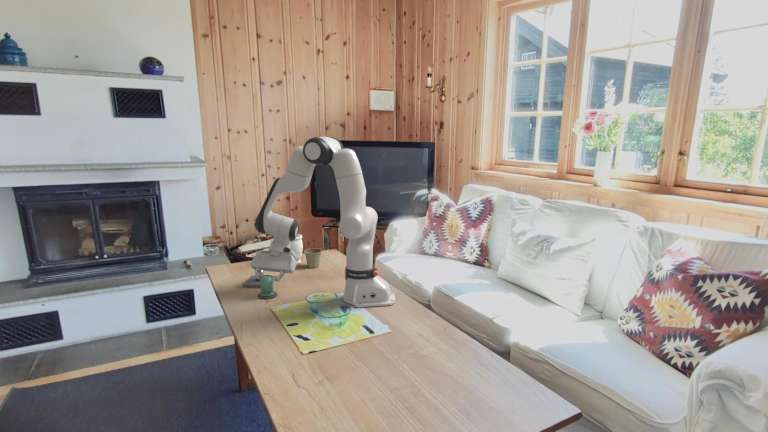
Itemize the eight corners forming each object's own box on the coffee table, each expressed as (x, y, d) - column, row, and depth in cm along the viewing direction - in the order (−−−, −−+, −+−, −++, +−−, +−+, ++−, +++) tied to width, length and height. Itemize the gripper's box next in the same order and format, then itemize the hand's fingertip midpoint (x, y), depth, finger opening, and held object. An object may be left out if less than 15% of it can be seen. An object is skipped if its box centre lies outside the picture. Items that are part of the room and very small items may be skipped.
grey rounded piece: (266, 277, 198) (265, 266, 197) (262, 282, 192) (261, 271, 191) (257, 277, 198) (257, 266, 197) (253, 282, 192) (252, 270, 191)
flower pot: (301, 268, 217) (301, 252, 215) (307, 263, 226) (307, 247, 224) (319, 269, 215) (318, 253, 213) (324, 264, 224) (324, 248, 223)
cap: (275, 292, 183) (274, 274, 182) (271, 297, 178) (271, 279, 176) (262, 291, 183) (261, 274, 182) (258, 296, 178) (257, 279, 176)
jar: (307, 261, 228) (306, 235, 225) (293, 266, 220) (292, 239, 217) (293, 258, 234) (292, 232, 231) (279, 263, 225) (278, 236, 222)
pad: (279, 292, 184) (279, 291, 184) (273, 299, 177) (273, 298, 176) (261, 292, 185) (261, 290, 184) (255, 299, 177) (255, 297, 177)
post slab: (276, 278, 201) (276, 275, 201) (268, 287, 189) (268, 284, 189) (251, 278, 202) (251, 275, 201) (242, 287, 190) (242, 284, 189)
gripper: (254, 246, 187) (242, 274, 180) (295, 250, 181) (285, 278, 174) (260, 253, 192) (249, 280, 185) (301, 257, 186) (291, 285, 179)
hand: (267, 279), depth 179 cm, fingers open, 8 cm apart
